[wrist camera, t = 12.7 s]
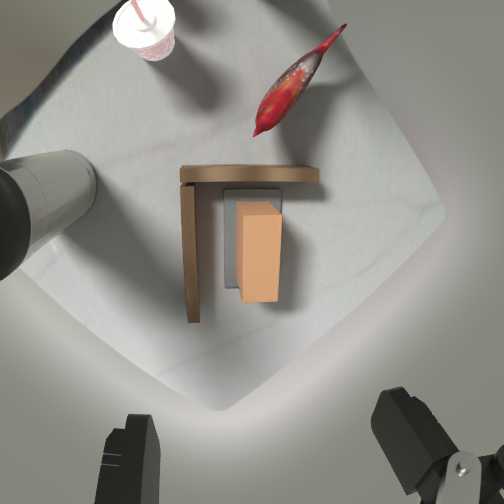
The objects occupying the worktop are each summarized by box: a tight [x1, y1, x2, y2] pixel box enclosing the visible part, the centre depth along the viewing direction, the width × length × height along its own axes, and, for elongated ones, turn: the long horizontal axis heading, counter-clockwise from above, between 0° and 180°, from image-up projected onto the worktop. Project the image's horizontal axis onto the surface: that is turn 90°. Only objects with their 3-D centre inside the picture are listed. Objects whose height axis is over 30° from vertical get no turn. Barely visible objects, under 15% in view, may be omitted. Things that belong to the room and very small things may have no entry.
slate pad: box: [224, 189, 281, 288], centre depth 41 cm, size 7×13×1 cm, turn 179°
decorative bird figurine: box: [253, 24, 347, 137], centre depth 31 cm, size 3×18×10 cm, turn 143°
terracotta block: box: [236, 202, 282, 303], centre depth 38 cm, size 10×4×7 cm, turn 179°
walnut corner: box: [180, 165, 319, 323], centre depth 40 cm, size 16×19×4 cm
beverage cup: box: [113, 0, 175, 61], centre depth 25 cm, size 6×6×14 cm
